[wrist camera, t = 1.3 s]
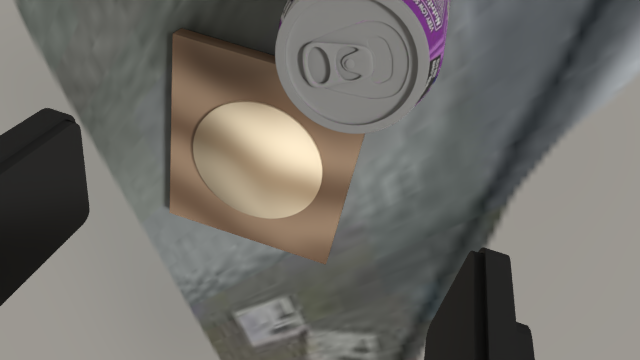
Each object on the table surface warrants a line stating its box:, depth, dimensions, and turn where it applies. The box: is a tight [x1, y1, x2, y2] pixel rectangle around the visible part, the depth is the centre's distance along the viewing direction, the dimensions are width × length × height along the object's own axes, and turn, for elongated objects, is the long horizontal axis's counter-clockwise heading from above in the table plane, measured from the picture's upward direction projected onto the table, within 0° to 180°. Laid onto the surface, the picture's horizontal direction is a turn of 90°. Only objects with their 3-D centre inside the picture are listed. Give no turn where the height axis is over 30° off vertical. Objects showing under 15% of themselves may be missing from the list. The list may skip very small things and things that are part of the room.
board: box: [170, 28, 365, 264], centre depth 37 cm, size 16×14×2 cm
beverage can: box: [275, 0, 451, 134], centre depth 24 cm, size 7×7×12 cm
